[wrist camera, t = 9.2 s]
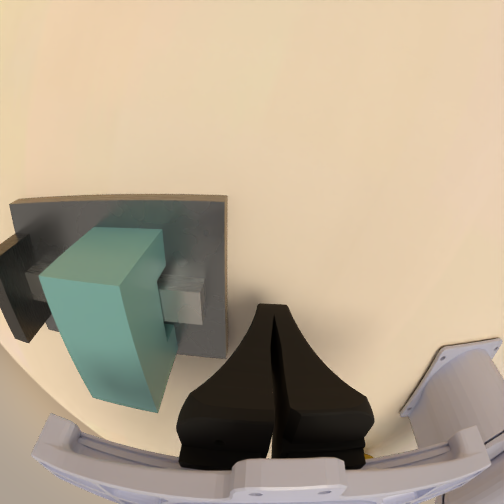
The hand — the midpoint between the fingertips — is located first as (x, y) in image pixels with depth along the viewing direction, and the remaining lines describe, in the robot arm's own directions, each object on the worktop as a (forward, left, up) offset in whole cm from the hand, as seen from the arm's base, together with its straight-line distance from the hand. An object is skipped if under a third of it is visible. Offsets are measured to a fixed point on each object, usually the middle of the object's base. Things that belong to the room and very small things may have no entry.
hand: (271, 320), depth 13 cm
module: (-1, +7, -2) cm, 8 cm away
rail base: (0, +9, -3) cm, 10 cm away
